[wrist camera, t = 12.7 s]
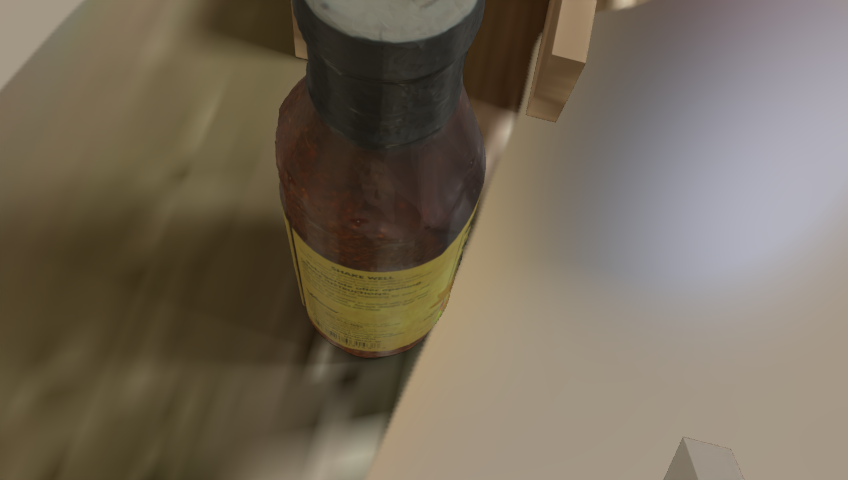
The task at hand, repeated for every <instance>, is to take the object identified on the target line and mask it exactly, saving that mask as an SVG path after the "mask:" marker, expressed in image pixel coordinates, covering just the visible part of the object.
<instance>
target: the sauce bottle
mask: <svg viewBox="0 0 848 480" xmlns="http://www.w3.org/2000/svg"><path fill="white" fill-rule="evenodd" d="M292 6H293V14H294V16H295V18H296V21H297V25H298V28H299V30H300V32H301V34H302V37H303V40H304V41H305V43H306V45H307V47H306V49H307V57H308V63H307V67H306V76H305V77H303V78H302V79H301V80H300V81H299V82H298V83H297V84H296V85H295V87H294V88H293V89H292V90H291V92H290V93H289V95H288V96H287V97H286V98H285V100H284V102H283V103H282V105H281V107H280V109H279V118H278V127H277V131H276V141H275V144H276V165H277V168H278V171H279V173H278V174H279V178H280V182H279V190H280V200H281V206H282V210H283V215H284V220H285V224H286V229H287V233H288V238H289V243H290V248H291V253H292V258H293V263H294V267H295V272H296V276H297V281H298V285H299V290H300V295H301V299H302V303H303V305H304V306H306V307H307V312H308V315H309V319H310V321H311V322H312V324H313V326H314V327H315V328H316V329H317V330H318V332H319V333H320V334H321V335H322V336H323V337H324V338H325V339H327V340H328V341H329V342H330V343H331V344H333V345H335V346H337V347H339V348H341V349H343V350H345V351H346V352H348V353H351V354H353V355H355V356H360V357H363V358H368V357H381V356H390V355H395V354H398V353H400V352H403V351H406V350H408V349H411V348H412V347H413V346H415V345H416V344H417V343H419V342H421V341H422V340H423V338H424V337H425V335H426V334H427V333H428V331H429V330H430V329H431V328H432V327H433V326H434V325H435V324H436V322H437V321H438V320H439V318H440V316H441V315H442V313H443V311H444V309H445V308H446V306H447V303H448V300H449V297H450V292H451V289H452V286H453V283H454V279H455V276H456V273H457V270H458V267H459V265H460V261H461V260H462V254H463V249H464V246H465V245H466V241H467V238H468V236H469V230H470V227H471V224H472V221H473V218H474V216H475V212H476V208H477V205H478V202H479V198H480V194H481V191H482V187H483V183H484V177H485V169H486V157H485V147H484V142H483V137H482V134H481V132H480V129H479V126H478V124H477V121H476V118H475V115H474V112H473V110H472V107H471V104H470V101H469V98H468V96H467V93H466V90H465V87H464V85H463V74H462V71H463V68H464V63H465V58H466V55H467V50H468V49H469V47H470V46H471V44H472V43H473V41H474V38H475V36H476V34H477V32H478V30H479V29H480V26H481V23H482V19H483V15H484V8H485V0H292Z"/></svg>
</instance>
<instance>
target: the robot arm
mask: <svg viewBox="0 0 848 480" xmlns="http://www.w3.org/2000/svg"><path fill="white" fill-rule="evenodd" d="M664 480H744V478H743V476H742V474H741V471H740V469H739V467H738V465H737V462H736V460H735V458H734V456H733V453H732V451H731V449H728V448H724V447H720V446H716V445H713V444H709V443H705V442H701V441H697V440H693V439H690V438H686V437H683V438H682V441H681V443H680V445H679V447H678V449H677V452H676V454H675V456H674V458H673V460H672V463H671V465H670V467H669V469H668V471H667V474H666V476H665V478H664Z"/></svg>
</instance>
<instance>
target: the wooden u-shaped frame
mask: <svg viewBox="0 0 848 480" xmlns="http://www.w3.org/2000/svg"><path fill="white" fill-rule="evenodd" d="M596 3H597V0H549V5H548V10H547V15H546V20H545V25H544V29H543V34H542V39H541V44H540V49H539V54H538V58H537V63H536V68H535V73H534V78H533V82H532V87H531V93H530V97H529V102H528V107H527V112H526V115H528V116H532V117H536V118H540V119H544V120H548V121H552V122H556V121H557V119H558V117H559V115H560V113H561V111H562V109H563V107H564V105H565V103H566V101H567V99H568V97H569V95H570V93H571V91H572V89H573V87H574V85H575V83H576V81H577V79H578V77H579V75H580V73H581V71H582V69H583V68H584V66H585V63H586V59H587V53H588V47H589V42H590V37H591V31H592V25H593V20H594V14H595V8H596ZM291 10H292V21H293V32H294V43H295V54H296V57H299V58H303V59H307V60H308V57H307V49H306V47H307V45H306V43H305V41H304V40H303V37H302V34H301V32H300V30H299V28H298V25H297V21H296V18H295V16H294V14H293V6H292V0H291Z"/></svg>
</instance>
